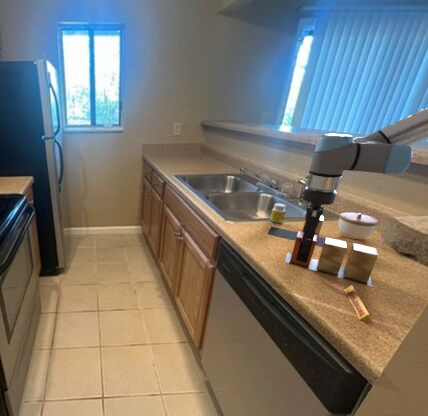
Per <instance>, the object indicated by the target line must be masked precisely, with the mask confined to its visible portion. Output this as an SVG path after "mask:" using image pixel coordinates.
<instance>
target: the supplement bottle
mask: <svg viewBox="0 0 428 416" xmlns="http://www.w3.org/2000/svg"><path fill="white" fill-rule="evenodd" d="M285 215H286V204H285V203H278V202H277V203H274V205H273V208H272V210H271V214H270V219H269V223H270V224H272V225H276V226H280V225H283V223H284V219H285Z"/></svg>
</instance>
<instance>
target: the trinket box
mask: <svg viewBox="0 0 428 416" xmlns="http://www.w3.org/2000/svg"><path fill="white" fill-rule="evenodd" d="M377 225H379V220H378V219H376V218H375V217H373V216H371V215H367V214H362V213H361V212H358V213H357V212H342V213H340V214H339V218H338V222H337V227H338V230H339V232H340V233H341V234H342V235H343V236H344V237H346V238H349V239H352V240H363V239H366V238H369V237H370V236H371V235H372V234H373V233H374V231H375V230H376V228H377Z"/></svg>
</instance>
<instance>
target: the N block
mask: <svg viewBox="0 0 428 416" xmlns="http://www.w3.org/2000/svg"><path fill="white" fill-rule="evenodd" d="M378 257H379V254H378V250H377V248H376V247H374V246H373V247H372V246H367V245H364V244H358V243H355V242H354V243H352V245H351V248H350V251H349V254H348V257H347V259H346V262H345V265H344V267H345V268H344V275H345V277H348V278H352V279H355V280H359V281H363V282H366V283H367V282H368V280H369V277H370V276H371V274H372V272H373V270H374V267H375V265H376V261H377V259H378Z"/></svg>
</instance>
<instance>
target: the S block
mask: <svg viewBox="0 0 428 416" xmlns="http://www.w3.org/2000/svg"><path fill="white" fill-rule="evenodd" d="M297 232H298V234H297V237H296V241H294V242H295V243H294V245H293V249H292V252H291V253H292V256H291V260H290V262H293V263H297V264H301V265H304V266H308V267H309V265H310V261H311V258H312V257H313V255H314V251H315V248H316V245H315V244H316V241H317V235H314V238H313V244H312V246H311V249H310V253H309V256H308V260H307V263H305V262H301V261H297V260H296V257H297V254H298V250H299V246H300V242H299V241H298V240H299V239H302V238H303V234H304V233H303V232H302V231H297ZM309 240H310V239H309ZM312 259H313V258H312Z"/></svg>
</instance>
